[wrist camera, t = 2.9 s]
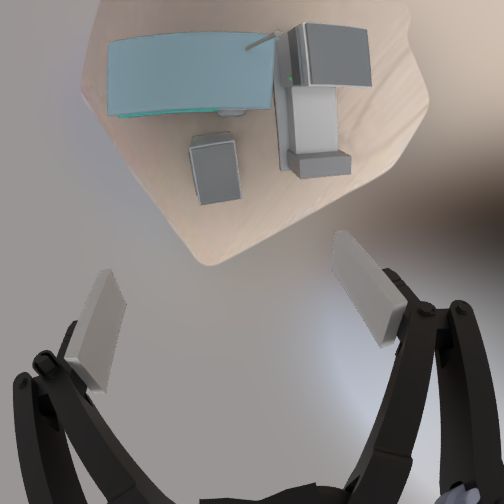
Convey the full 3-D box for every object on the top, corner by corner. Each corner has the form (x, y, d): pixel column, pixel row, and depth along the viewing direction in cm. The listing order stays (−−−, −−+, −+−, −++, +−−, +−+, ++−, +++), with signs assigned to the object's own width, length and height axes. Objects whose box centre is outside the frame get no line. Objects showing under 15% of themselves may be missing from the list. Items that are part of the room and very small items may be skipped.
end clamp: (286, 150, 38) (299, 159, 33) (332, 146, 38) (351, 156, 33) (287, 166, 39) (300, 179, 34) (333, 162, 40) (350, 174, 34)
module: (191, 137, 36) (186, 148, 28) (229, 131, 36) (235, 140, 29) (199, 184, 39) (197, 207, 32) (235, 178, 40) (242, 200, 32)
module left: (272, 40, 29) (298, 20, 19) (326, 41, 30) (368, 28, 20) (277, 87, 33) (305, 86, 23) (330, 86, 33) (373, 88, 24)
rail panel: (267, 37, 29) (273, 32, 26) (324, 38, 30) (334, 35, 27) (280, 169, 40) (286, 176, 37) (331, 164, 40) (341, 171, 37)
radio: (135, 117, 33) (71, 143, 16) (136, 55, 28) (71, 26, 11) (252, 113, 35) (295, 132, 18) (256, 51, 30) (303, 13, 14)
